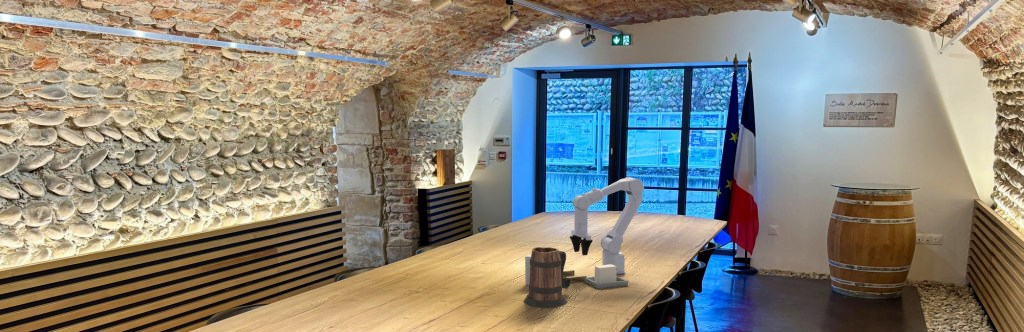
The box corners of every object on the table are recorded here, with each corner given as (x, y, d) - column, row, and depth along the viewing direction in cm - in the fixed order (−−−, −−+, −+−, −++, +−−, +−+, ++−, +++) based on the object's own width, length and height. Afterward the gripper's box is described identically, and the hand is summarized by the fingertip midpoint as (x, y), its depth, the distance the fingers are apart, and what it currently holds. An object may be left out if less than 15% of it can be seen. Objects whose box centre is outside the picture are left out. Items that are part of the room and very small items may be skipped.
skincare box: (541, 283, 270) (541, 255, 269) (538, 286, 266) (538, 257, 265) (528, 282, 272) (528, 254, 271) (524, 284, 268) (524, 256, 267)
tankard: (549, 310, 232) (550, 256, 231) (514, 302, 243) (513, 250, 241) (586, 296, 250) (586, 246, 248) (551, 289, 261) (551, 240, 259)
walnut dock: (573, 274, 285) (573, 270, 285) (586, 280, 274) (586, 276, 274) (552, 276, 281) (552, 272, 281) (564, 283, 270) (564, 278, 270)
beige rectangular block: (612, 280, 272) (613, 264, 272) (617, 282, 269) (618, 266, 268) (594, 282, 269) (594, 265, 268) (599, 284, 265) (599, 268, 265)
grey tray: (612, 279, 277) (613, 274, 277) (628, 285, 266) (628, 281, 266) (584, 282, 272) (584, 277, 272) (598, 289, 261) (598, 284, 260)
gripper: (565, 221, 288) (565, 251, 290) (580, 226, 275) (580, 257, 276) (579, 220, 291) (579, 249, 292) (595, 225, 278) (594, 256, 279)
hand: (580, 253), depth 284 cm, fingers open, 7 cm apart
